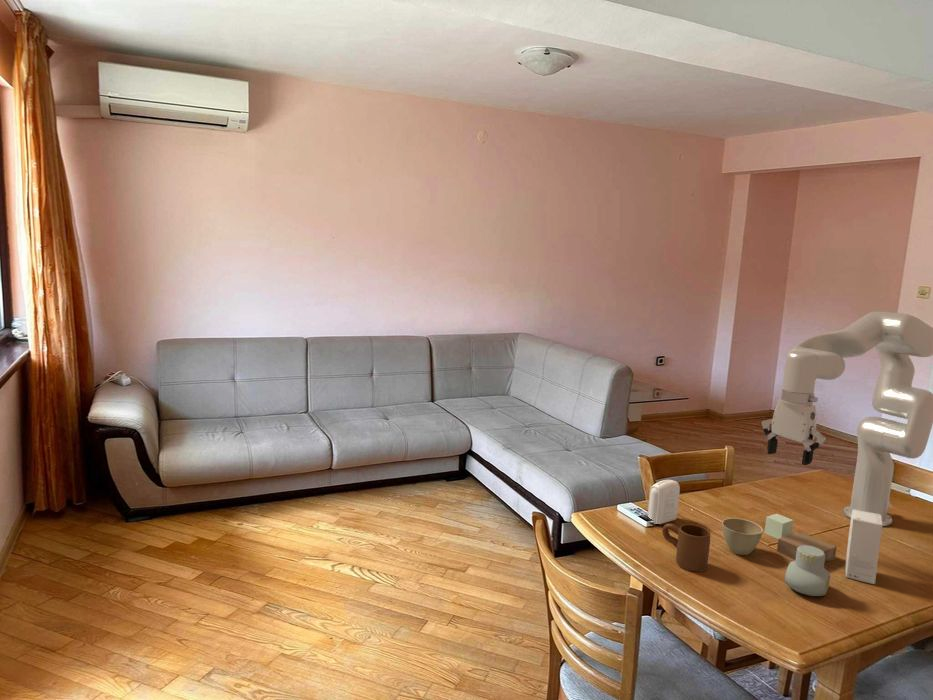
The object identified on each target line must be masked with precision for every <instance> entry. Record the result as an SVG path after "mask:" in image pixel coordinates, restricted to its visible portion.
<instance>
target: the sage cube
mask: <svg viewBox="0 0 933 700" xmlns="http://www.w3.org/2000/svg"><path fill="white" fill-rule="evenodd" d="M793 526H794V519H791V518H789V517H786V516H784V515H782V514H779V513H774V514H771V515H768V516H766V519H765V525H764V534H766V535H768V536H770V537H773V538H774V539H777V540H778V539H779V538H782V537H785V536H788V535H790V534H793Z"/></svg>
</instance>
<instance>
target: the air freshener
mask: <svg viewBox="0 0 933 700" xmlns="http://www.w3.org/2000/svg"><path fill="white" fill-rule="evenodd" d="M824 561H825V553H824V552H823V551H822V550H820V549H818V548H816V547H813V546H808V545H802V546H799V547H798V548H797V553H796V560H793V561H790V562H789V563H788V566H787V568H786V571H785V574H784V582H785V584H787V586H788V587H790V588H791V589H792V590H794V591H795V592H797V593H799V594H802V595H806V596H810V597H822V596H825V595H826V594H827V591H828V590H829V586H830V581H831V573H830V572H829V571H828V570H827V569H826V568H825V564H824Z"/></svg>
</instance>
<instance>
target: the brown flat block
mask: <svg viewBox="0 0 933 700" xmlns="http://www.w3.org/2000/svg"><path fill="white" fill-rule="evenodd" d="M802 545H808V546H813V547H816V548H818V549H820V550H822V551H823V552H824V553H825V561H824V565H825V564H827V563H830V562H832V561H834V560H835V559H836V554H837V547H838V546H836V545H835V544H832V543H829V542H826V541H825V540H823V539H820V538H817V537H815V536H813V535H811V534H807V533H806V532H803V531H801V530H800V531H795V532H792V534H790V535H788V536H785V537H782V538H779V539H777V547H776V552H777V553H780V554H781V555H783V556H786V557H788V558H790V559H793V561H795V560H796V553H797V548H798V547H799V546H802Z"/></svg>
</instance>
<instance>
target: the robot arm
mask: <svg viewBox="0 0 933 700" xmlns="http://www.w3.org/2000/svg"><path fill="white" fill-rule="evenodd" d="M873 348H875V350H876V352H877V354H878V358H879V360H880V361H879V362H880V368H879V373H878V376H877V379H876V384H875V387H874V392H873V395H872V399H871V406H872V408H873V410H875V411H877V412H878V413H881V414H885V415H889V416H892V417H895V418H896V417H897V418H900V419H905V420H907V422H906V423H903V422H900V421H897V420H893V419H888V418H884V417H879V416H867V417H865V418H863V419H861V421H860V422H858V425H857V428H856V429H857V431H856V437H857V458H856V465H855V471H854V479H853V484H852V485H853V486H852V492H851V499H850V505H849V506H845V507H844V508H843V514H844V516H846V517H848V518H849V519H851V515H852V509H856V510H861V511H866V512H871V513H877V514H881V517H882V524H883V525H882V527H888V526H890V525H891V524H892V523H893V519H892V516H890V515H889V514H888V510H889V508H891V507H892V504H891V502H890V495H891V488H892V485H893V484H892V482H893V477H894V470H895V464H894V461H893V460H894V459H893V458H892V455H896V456H898V457H903V458H907V459H917V458H920V457H921V456H922V455H923V453H924V452H925V450H926V449H927V445H928V442H929V437H930V434H931V430H932V427H933V393H932V392H931V391H929V390H927V389H923V388H919V387H914V386H912V385H913V381H914V380H913V379H914V376H915V371H916V370H915V365H914V363H913V361H912V359H911V357H917V358H929V357H931V356H933V327H932V326H931V325H929V324H928V323H926V322H925V321H923V320H921V319H920V318H918V317H916V316H914V315H911V314H909V313H902V312H891V311H890V312H889V311H871V312H868V313H866V314H864V315H863V316H862V317H860V318H858V319H857V320H855V321H854V322H853V323H850V324H849V325H848V326H846V327H845V328H843V329H841V330H835V331H831V332H828V333H827V332H826V333H822V334H819V335H818V334H817V335H814V336H811V337H808V338H806V339H804V340H803V341H801V342H800V343H798V344H796V345H795V346H794V347H793V348H792V349H791V350H790V351H789V352H788V353H787V354H786V356H785V357H786V358H785V365H784V372H783V380H782V387H781V394H780V395H781V396H780V398H779V399H778V401H777V403H776V406H775V409H774V412H773V416H772V418H769V419H766V420H762V421H761V426H762V429H763V430H762V431H763V433H764V435H765V436H766V440H768V441H767V447H766V449H767V454H768V455H774V454H776V453H777V449H778V442H779V440H778V437H782V438H785V439H789V440H791V441H795V442H799V443H802V445H803V447H804V450H803V452H802V459H801V465H802V466H807V465H811V464H812V463H813V462H812V461H813V458H814V451H816V450H817V449H818V448H820V447H822V444H824V443H825V441H826V440H827V437H826V436H824V435H823V434H822V433H821V432H820V431H819V430H817V409H816V404H813V403H817V402H818V401H819V399H818V397H816V396H815V393H814V392H815V387H816V379H819V380H823V381H824V380H825V381H830V380H831V381H832V380H836V379H838V378H840V377H841V376H842V375H843V373H844V372H845V371H846V370H845V369H846V363H845V360H844V359H845V358H847V359H849V358H854V357H856V358H857V357H860V356H863V355H864V354H866V353H867V352H869V351H870V350H871V349H873ZM910 356H911V357H910ZM770 425H771V428H770ZM815 438H816V441H815V442H814V440H815ZM891 454H892V455H891Z"/></svg>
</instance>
